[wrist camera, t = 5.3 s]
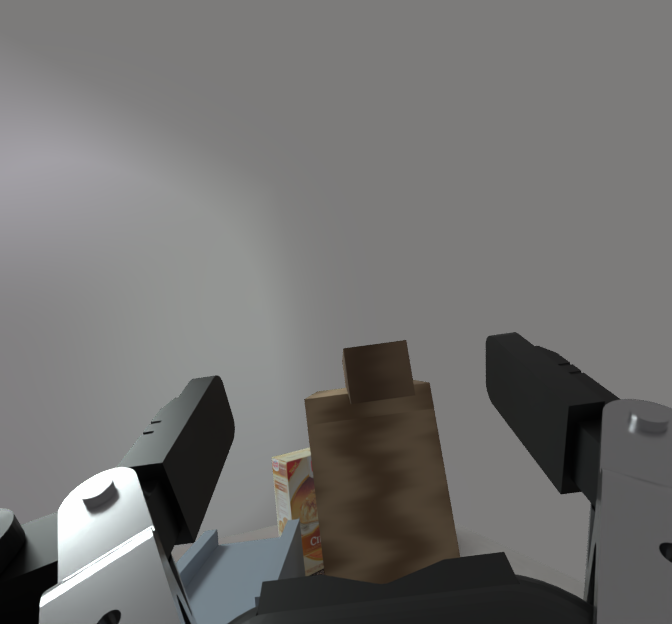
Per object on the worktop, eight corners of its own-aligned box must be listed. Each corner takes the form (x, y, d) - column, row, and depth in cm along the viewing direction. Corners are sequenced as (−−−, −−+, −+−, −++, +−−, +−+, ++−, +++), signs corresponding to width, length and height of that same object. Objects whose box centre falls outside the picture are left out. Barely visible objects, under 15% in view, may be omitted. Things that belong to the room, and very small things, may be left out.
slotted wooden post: (362, 906, 22) (304, 399, 28) (359, 743, 32) (317, 391, 38) (518, 891, 22) (429, 382, 28) (467, 730, 32) (409, 379, 37)
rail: (350, 404, 19) (343, 348, 19) (345, 385, 42) (342, 361, 43) (415, 395, 19) (406, 340, 19) (374, 382, 42) (370, 357, 43)
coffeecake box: (298, 583, 59) (285, 461, 62) (280, 567, 65) (269, 456, 68) (367, 547, 67) (352, 442, 71) (345, 536, 73) (333, 439, 76)
